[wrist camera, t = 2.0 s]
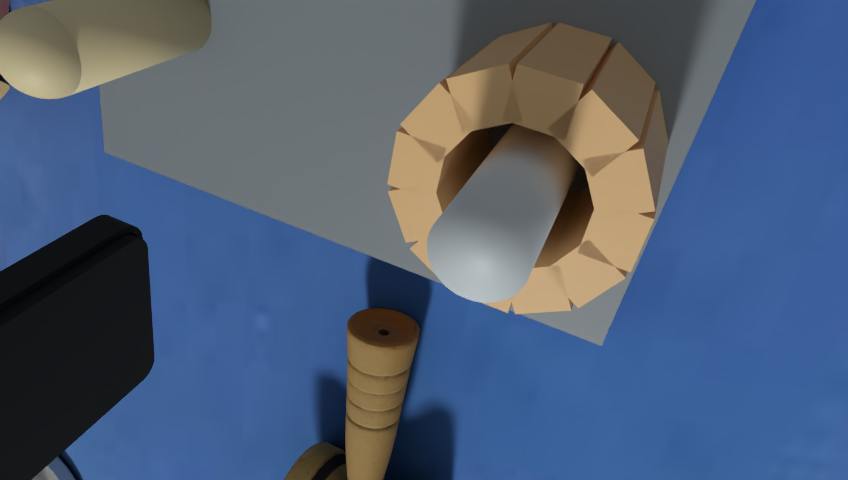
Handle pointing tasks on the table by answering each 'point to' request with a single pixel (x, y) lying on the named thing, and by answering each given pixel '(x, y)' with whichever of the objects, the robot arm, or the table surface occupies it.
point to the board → (358, 112)
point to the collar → (571, 125)
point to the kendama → (367, 399)
